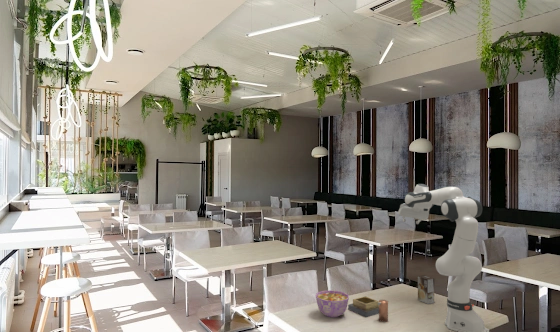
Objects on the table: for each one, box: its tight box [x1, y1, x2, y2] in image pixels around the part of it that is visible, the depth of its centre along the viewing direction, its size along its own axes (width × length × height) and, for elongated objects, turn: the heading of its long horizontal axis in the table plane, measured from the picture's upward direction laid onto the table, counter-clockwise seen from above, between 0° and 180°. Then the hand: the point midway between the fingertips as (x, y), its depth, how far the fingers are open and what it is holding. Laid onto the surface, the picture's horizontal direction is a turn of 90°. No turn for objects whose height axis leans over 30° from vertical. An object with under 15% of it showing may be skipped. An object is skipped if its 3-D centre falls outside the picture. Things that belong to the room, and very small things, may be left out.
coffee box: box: [417, 274, 435, 305], centre depth 256 cm, size 9×6×16 cm
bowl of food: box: [315, 289, 350, 318], centre depth 231 cm, size 20×20×12 cm
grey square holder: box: [347, 296, 379, 318], centre depth 238 cm, size 15×15×6 cm
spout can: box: [377, 299, 389, 323], centre depth 223 cm, size 5×7×11 cm
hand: (410, 222), depth 269 cm, fingers open, 8 cm apart
